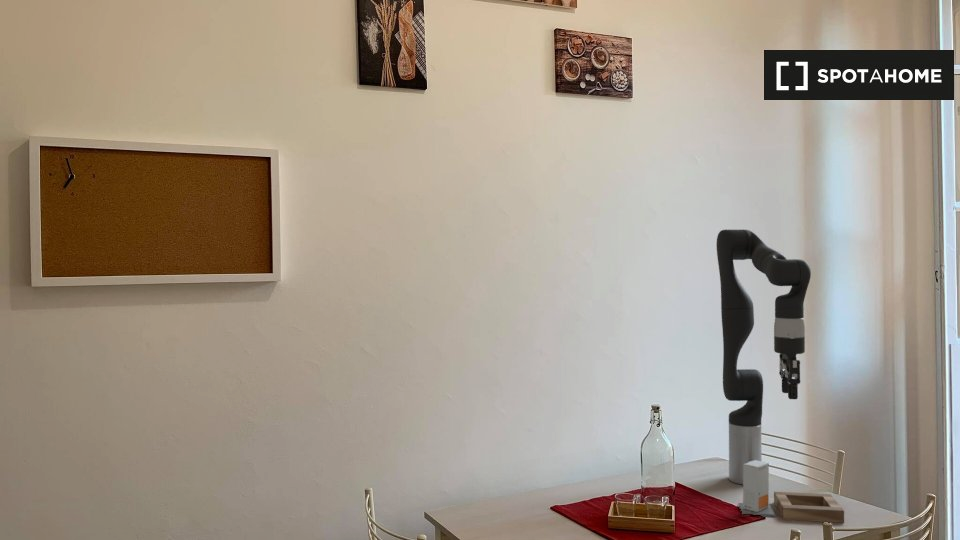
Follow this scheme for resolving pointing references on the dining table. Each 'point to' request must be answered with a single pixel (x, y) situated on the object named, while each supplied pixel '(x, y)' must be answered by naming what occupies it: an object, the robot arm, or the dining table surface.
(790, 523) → the dining table surface
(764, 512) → the slate coaster
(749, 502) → the skincare box
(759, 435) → the robot arm
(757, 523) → the dining table surface
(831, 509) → the socket block
